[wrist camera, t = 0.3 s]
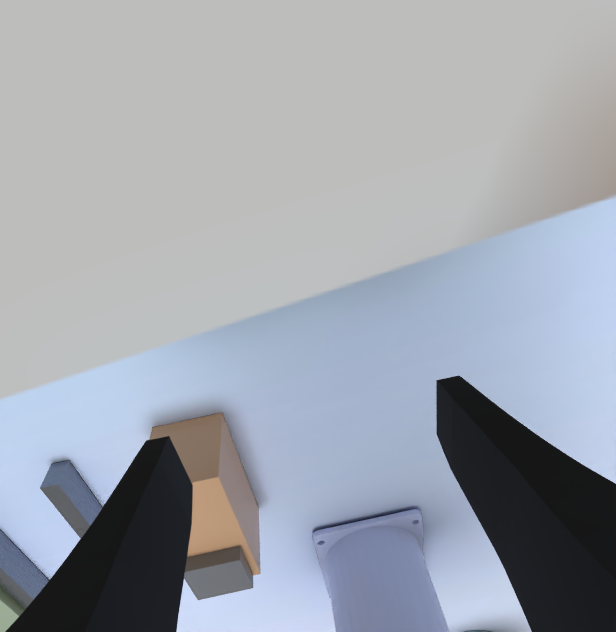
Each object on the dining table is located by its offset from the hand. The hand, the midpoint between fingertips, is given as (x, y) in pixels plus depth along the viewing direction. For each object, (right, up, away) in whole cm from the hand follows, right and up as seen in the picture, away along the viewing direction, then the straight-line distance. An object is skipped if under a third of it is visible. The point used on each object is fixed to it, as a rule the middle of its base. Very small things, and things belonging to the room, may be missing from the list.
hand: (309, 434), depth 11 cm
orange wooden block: (-6, -6, +15) cm, 17 cm away
